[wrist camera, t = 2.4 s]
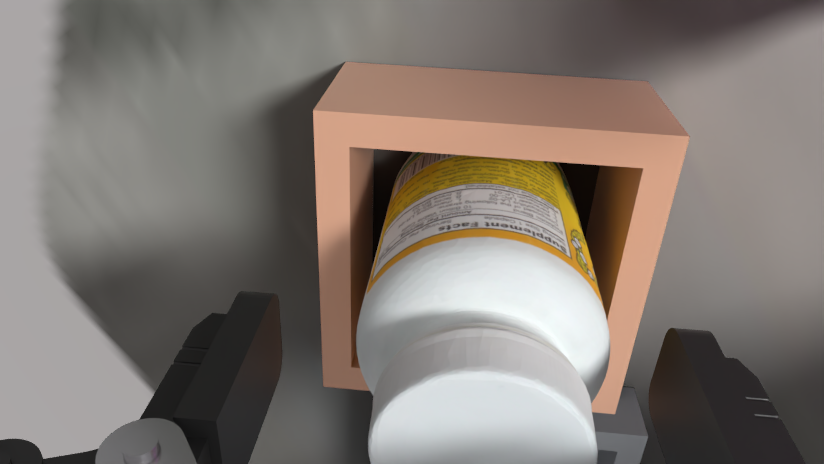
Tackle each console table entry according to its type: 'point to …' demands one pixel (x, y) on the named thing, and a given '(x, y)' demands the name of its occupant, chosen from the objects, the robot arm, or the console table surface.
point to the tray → (621, 431)
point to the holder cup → (500, 138)
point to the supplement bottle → (482, 318)
